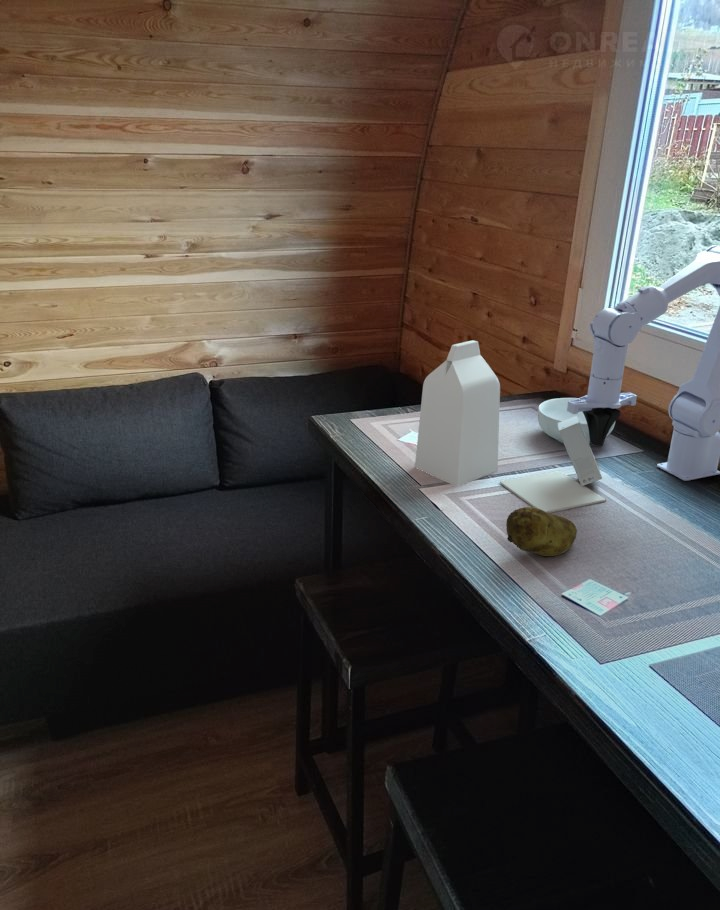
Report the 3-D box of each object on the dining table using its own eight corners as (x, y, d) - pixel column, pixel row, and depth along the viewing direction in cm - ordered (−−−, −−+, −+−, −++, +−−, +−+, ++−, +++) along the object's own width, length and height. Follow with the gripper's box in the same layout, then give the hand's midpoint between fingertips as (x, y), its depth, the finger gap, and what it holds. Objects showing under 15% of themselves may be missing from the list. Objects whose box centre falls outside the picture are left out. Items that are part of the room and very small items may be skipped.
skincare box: (603, 479, 146) (579, 422, 144) (581, 486, 148) (557, 430, 145) (599, 469, 152) (577, 414, 150) (579, 477, 153) (556, 423, 151)
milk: (457, 486, 148) (467, 355, 138) (414, 467, 156) (421, 342, 146) (497, 470, 155) (509, 344, 145) (454, 453, 163) (463, 332, 153)
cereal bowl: (553, 420, 183) (556, 392, 180) (622, 436, 174) (627, 407, 172) (522, 441, 170) (525, 411, 168) (595, 460, 162) (600, 428, 159)
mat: (558, 472, 155) (559, 470, 155) (605, 501, 143) (605, 499, 143) (499, 483, 150) (499, 481, 150) (543, 514, 138) (543, 512, 138)
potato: (588, 562, 123) (595, 517, 120) (511, 567, 121) (515, 522, 118) (568, 537, 130) (574, 494, 127) (494, 541, 129) (499, 498, 125)
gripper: (588, 385, 135) (578, 457, 141) (652, 377, 141) (640, 446, 146) (563, 374, 141) (555, 443, 147) (626, 367, 147) (615, 433, 152)
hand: (596, 444), depth 147 cm, fingers closed
